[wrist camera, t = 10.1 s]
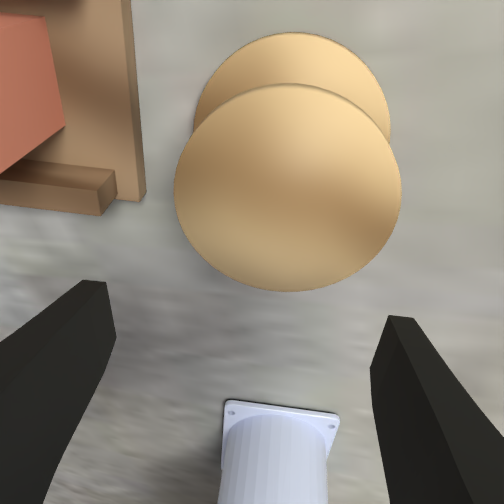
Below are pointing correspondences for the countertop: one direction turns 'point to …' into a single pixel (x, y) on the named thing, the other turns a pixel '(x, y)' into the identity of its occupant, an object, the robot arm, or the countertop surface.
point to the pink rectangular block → (26, 87)
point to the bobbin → (289, 166)
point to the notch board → (84, 112)
